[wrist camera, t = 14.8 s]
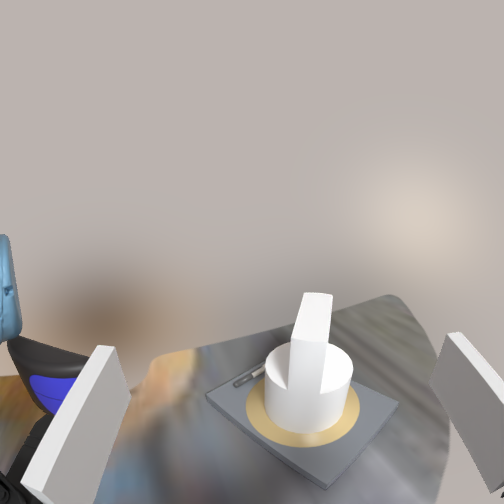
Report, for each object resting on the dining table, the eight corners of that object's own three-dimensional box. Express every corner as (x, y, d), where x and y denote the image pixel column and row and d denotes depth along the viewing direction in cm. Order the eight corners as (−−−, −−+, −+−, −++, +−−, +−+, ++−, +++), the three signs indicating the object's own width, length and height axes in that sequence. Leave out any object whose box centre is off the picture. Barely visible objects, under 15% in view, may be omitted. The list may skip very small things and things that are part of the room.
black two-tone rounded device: (18, 402, 29) (-11, 346, 26) (35, 384, 33) (11, 329, 30) (107, 442, 26) (77, 381, 23) (124, 416, 31) (100, 355, 28)
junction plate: (206, 401, 34) (204, 389, 34) (286, 353, 43) (286, 342, 42) (325, 490, 21) (328, 481, 21) (396, 408, 30) (400, 397, 30)
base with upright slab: (341, 437, 26) (364, 346, 23) (255, 426, 29) (254, 334, 25) (345, 382, 35) (361, 296, 31) (274, 374, 37) (276, 288, 33)
